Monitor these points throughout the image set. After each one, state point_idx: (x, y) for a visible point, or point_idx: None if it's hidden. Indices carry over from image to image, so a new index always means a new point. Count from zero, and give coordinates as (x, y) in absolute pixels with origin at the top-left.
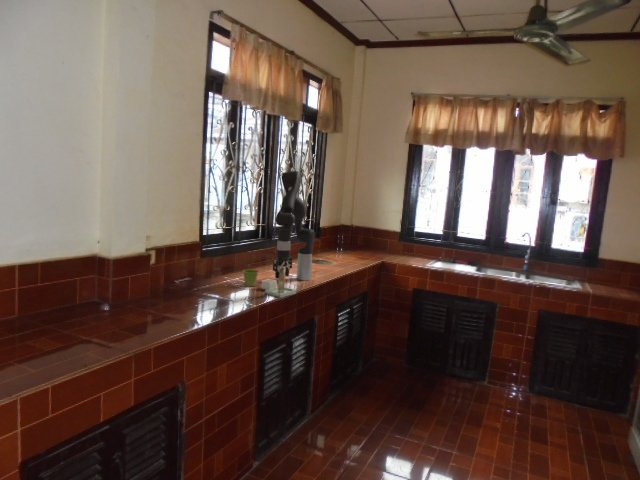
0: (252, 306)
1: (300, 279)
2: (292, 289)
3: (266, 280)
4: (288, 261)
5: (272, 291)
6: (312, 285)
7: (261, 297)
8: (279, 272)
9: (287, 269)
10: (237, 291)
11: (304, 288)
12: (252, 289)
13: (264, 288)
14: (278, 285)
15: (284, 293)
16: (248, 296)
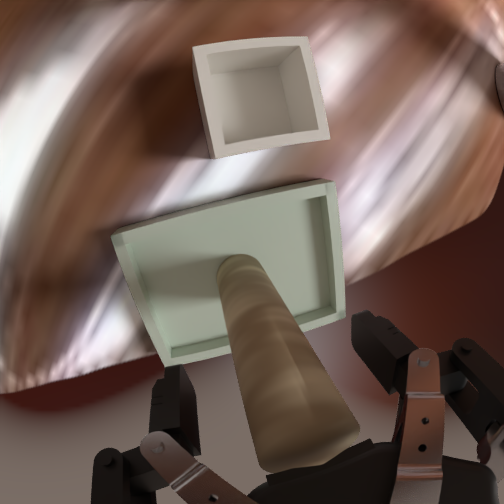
0: (3, 383)
1: (500, 96)
2: (335, 293)
3: (258, 50)
4: (480, 444)
5: (189, 230)
6: (488, 200)
7: (61, 297)
8: (245, 399)
9: (397, 385)
10: (5, 96)
11: (440, 228)
12: (114, 67)
13: (199, 102)
14: (223, 295)
15: (210, 355)
16: (4, 241)
